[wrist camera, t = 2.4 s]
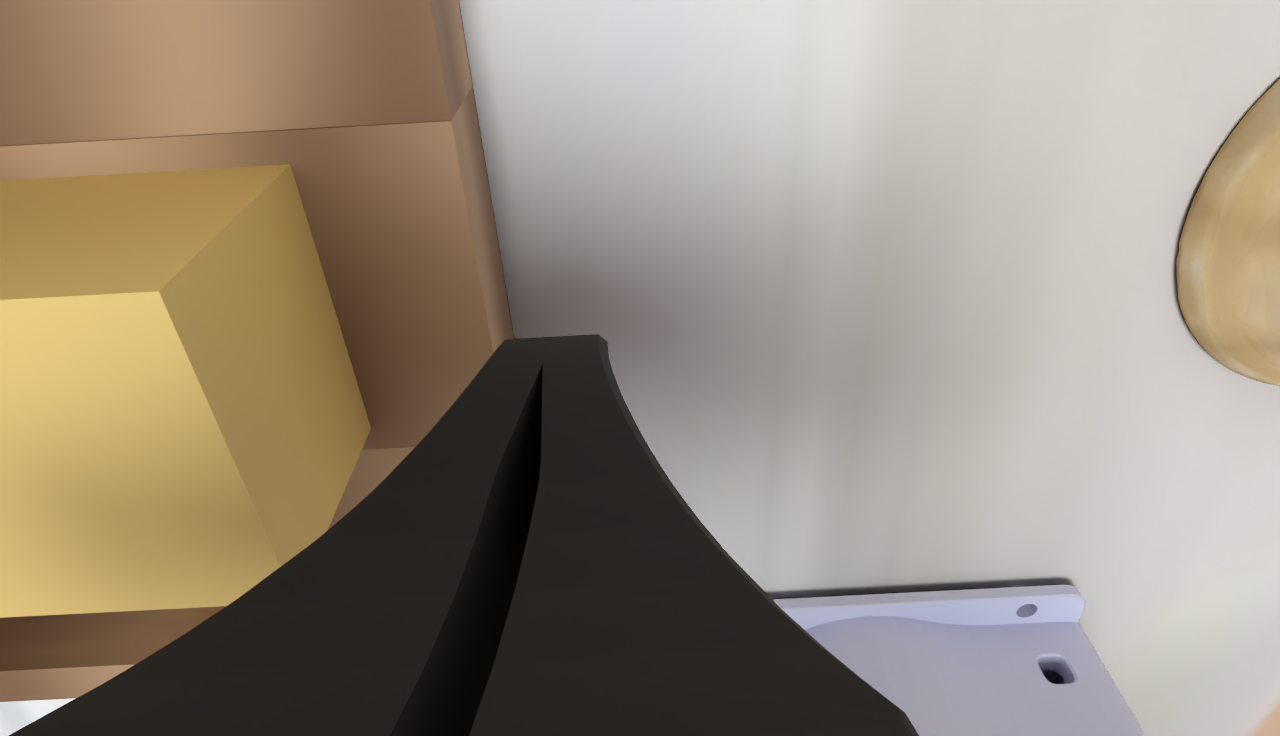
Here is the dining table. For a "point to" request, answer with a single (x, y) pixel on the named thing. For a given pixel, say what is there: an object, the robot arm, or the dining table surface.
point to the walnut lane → (329, 190)
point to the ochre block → (164, 389)
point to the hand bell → (1237, 249)
